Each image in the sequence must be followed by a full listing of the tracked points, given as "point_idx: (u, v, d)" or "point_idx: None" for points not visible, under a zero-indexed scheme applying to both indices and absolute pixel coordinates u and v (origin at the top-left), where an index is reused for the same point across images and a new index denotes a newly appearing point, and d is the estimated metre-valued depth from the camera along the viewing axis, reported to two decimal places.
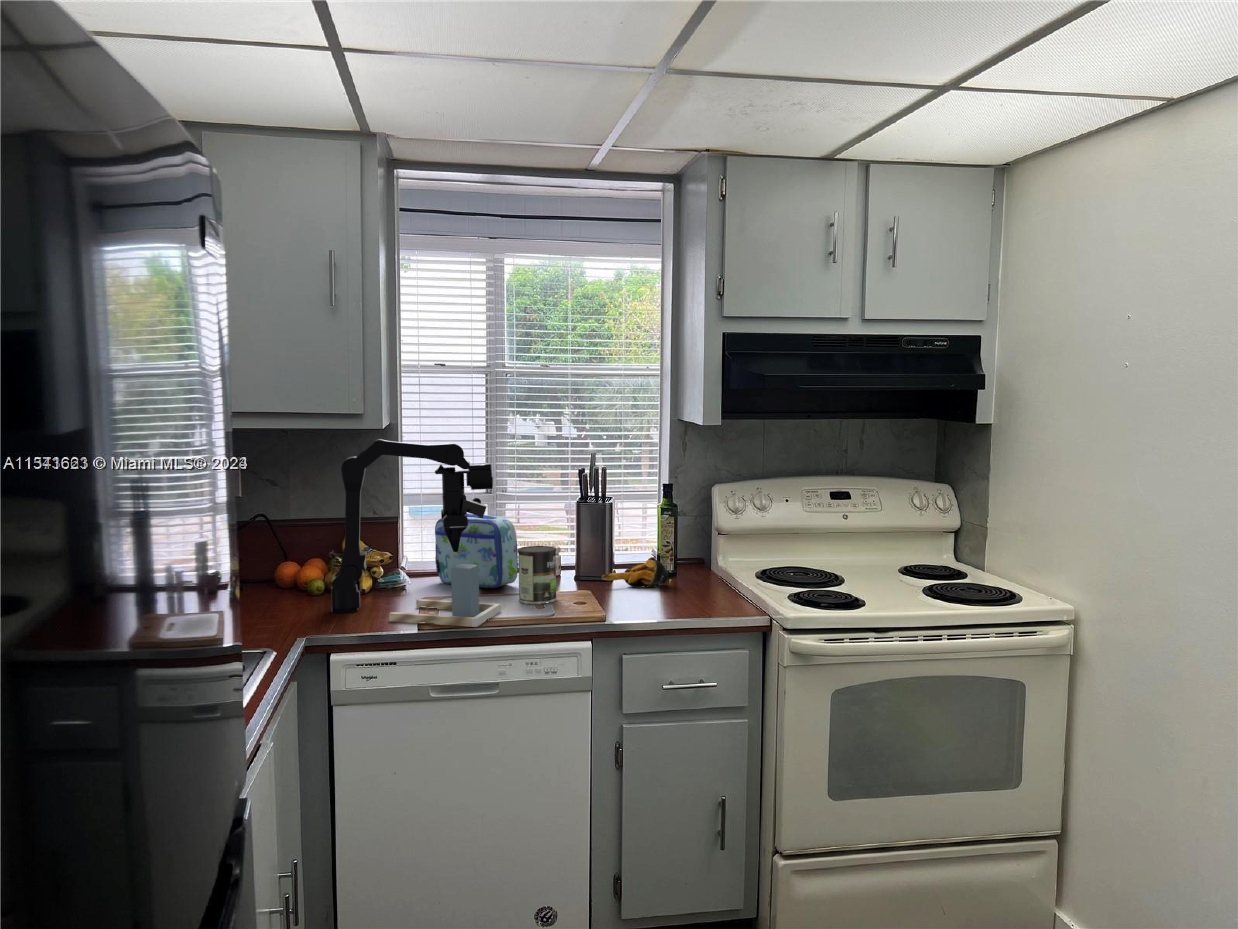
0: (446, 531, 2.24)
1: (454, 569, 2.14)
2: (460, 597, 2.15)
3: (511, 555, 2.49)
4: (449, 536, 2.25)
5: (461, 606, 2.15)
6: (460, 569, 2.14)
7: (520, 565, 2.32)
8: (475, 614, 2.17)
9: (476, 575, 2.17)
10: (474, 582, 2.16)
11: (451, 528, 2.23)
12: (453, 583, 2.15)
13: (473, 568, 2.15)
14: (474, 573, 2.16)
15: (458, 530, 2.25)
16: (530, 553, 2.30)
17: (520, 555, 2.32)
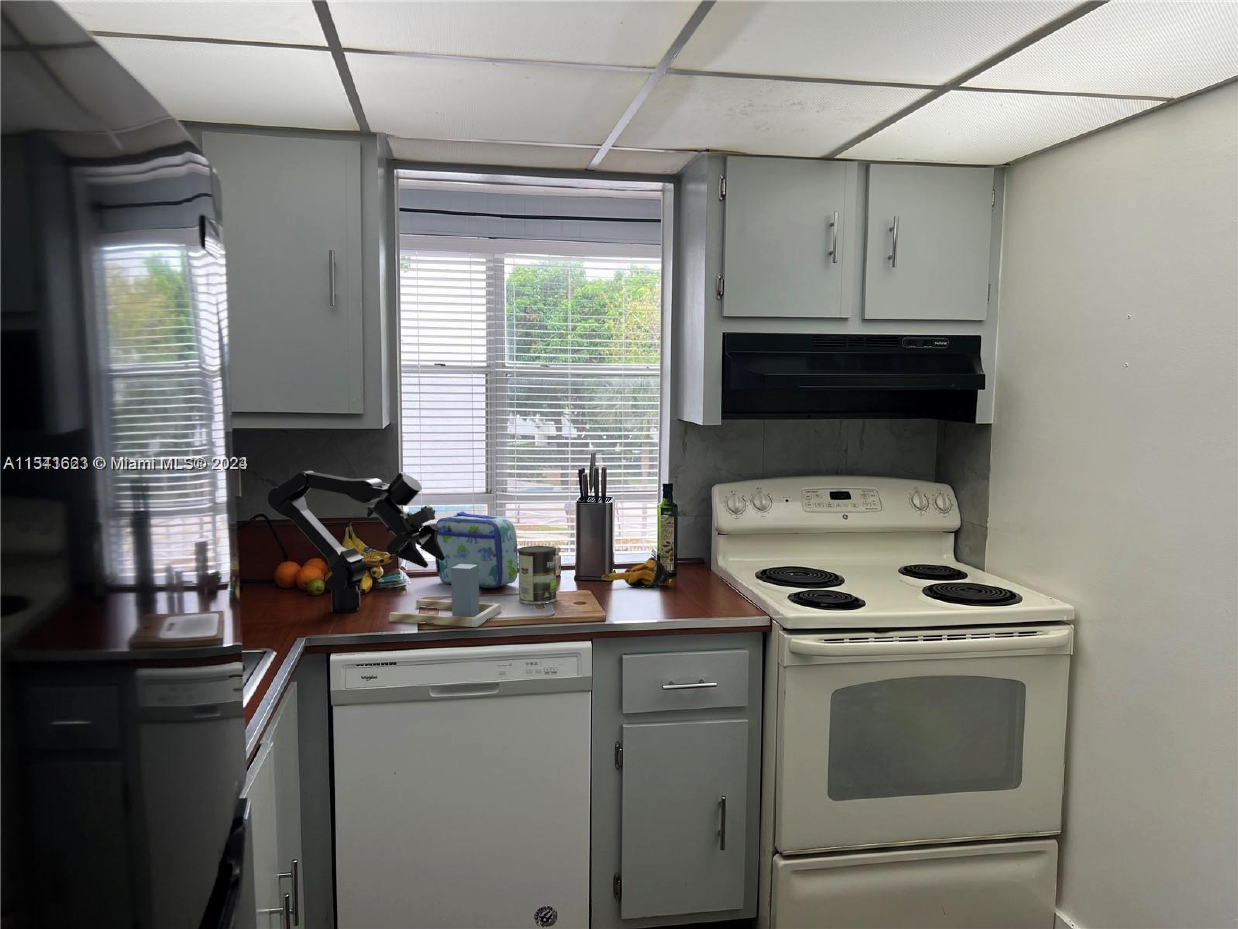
0: (401, 557, 2.13)
1: (454, 569, 2.14)
2: (460, 597, 2.15)
3: (511, 555, 2.49)
4: (408, 559, 2.14)
5: (461, 606, 2.15)
6: (460, 569, 2.14)
7: (520, 565, 2.32)
8: (475, 614, 2.17)
9: (476, 575, 2.17)
10: (474, 582, 2.16)
11: (399, 552, 2.12)
12: (453, 583, 2.15)
13: (473, 568, 2.15)
14: (474, 572, 2.16)
15: (410, 548, 2.13)
16: (530, 553, 2.30)
17: (520, 555, 2.32)
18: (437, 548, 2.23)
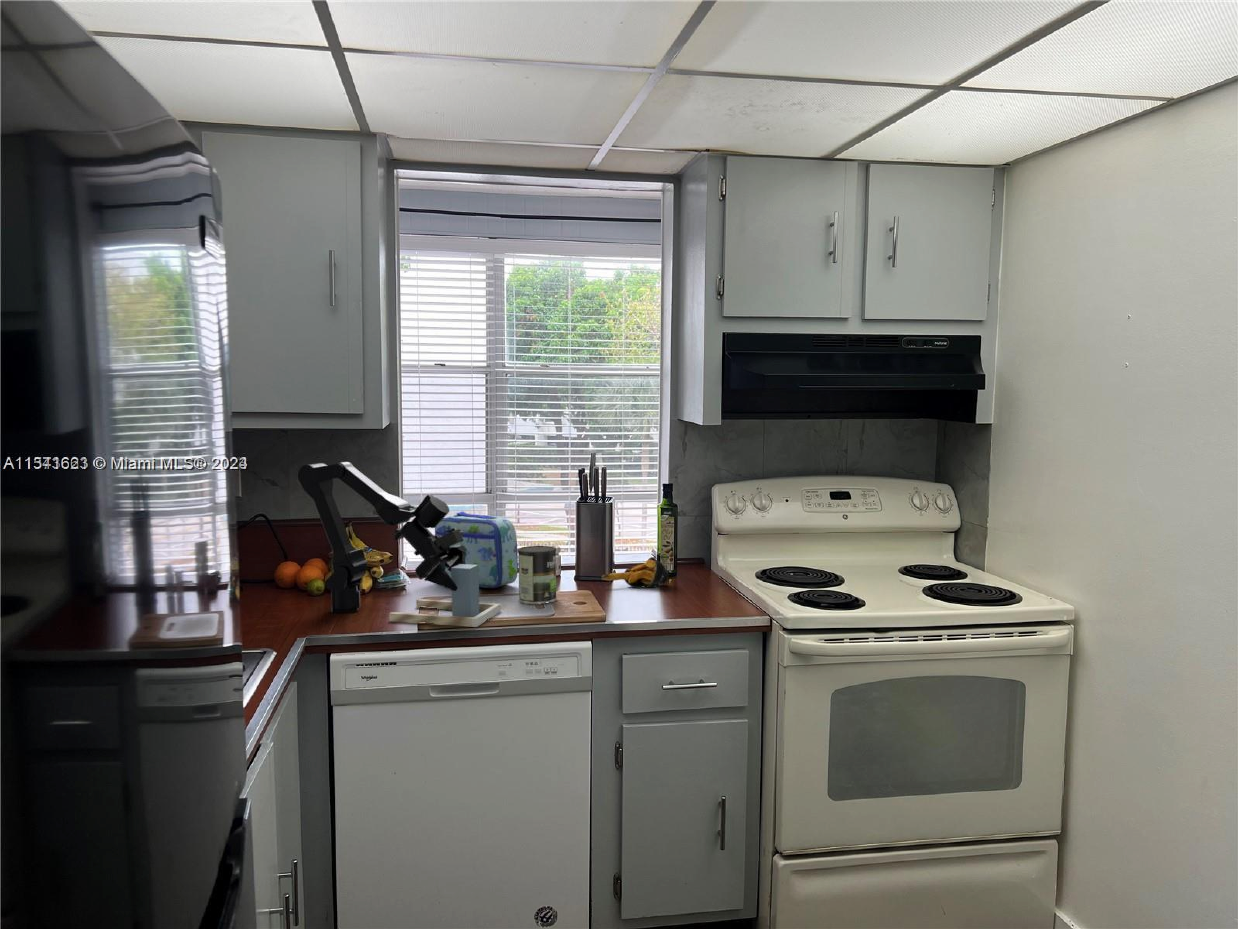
0: (430, 580, 2.12)
1: (454, 569, 2.14)
2: (460, 597, 2.15)
3: (511, 555, 2.49)
4: (437, 582, 2.12)
5: (461, 606, 2.15)
6: (460, 569, 2.14)
7: (520, 565, 2.32)
8: (475, 614, 2.17)
9: (476, 575, 2.17)
10: (474, 582, 2.16)
11: (428, 575, 2.10)
12: None
13: (473, 568, 2.15)
14: (474, 573, 2.16)
15: (439, 571, 2.12)
16: (530, 553, 2.30)
17: (520, 555, 2.32)
18: None
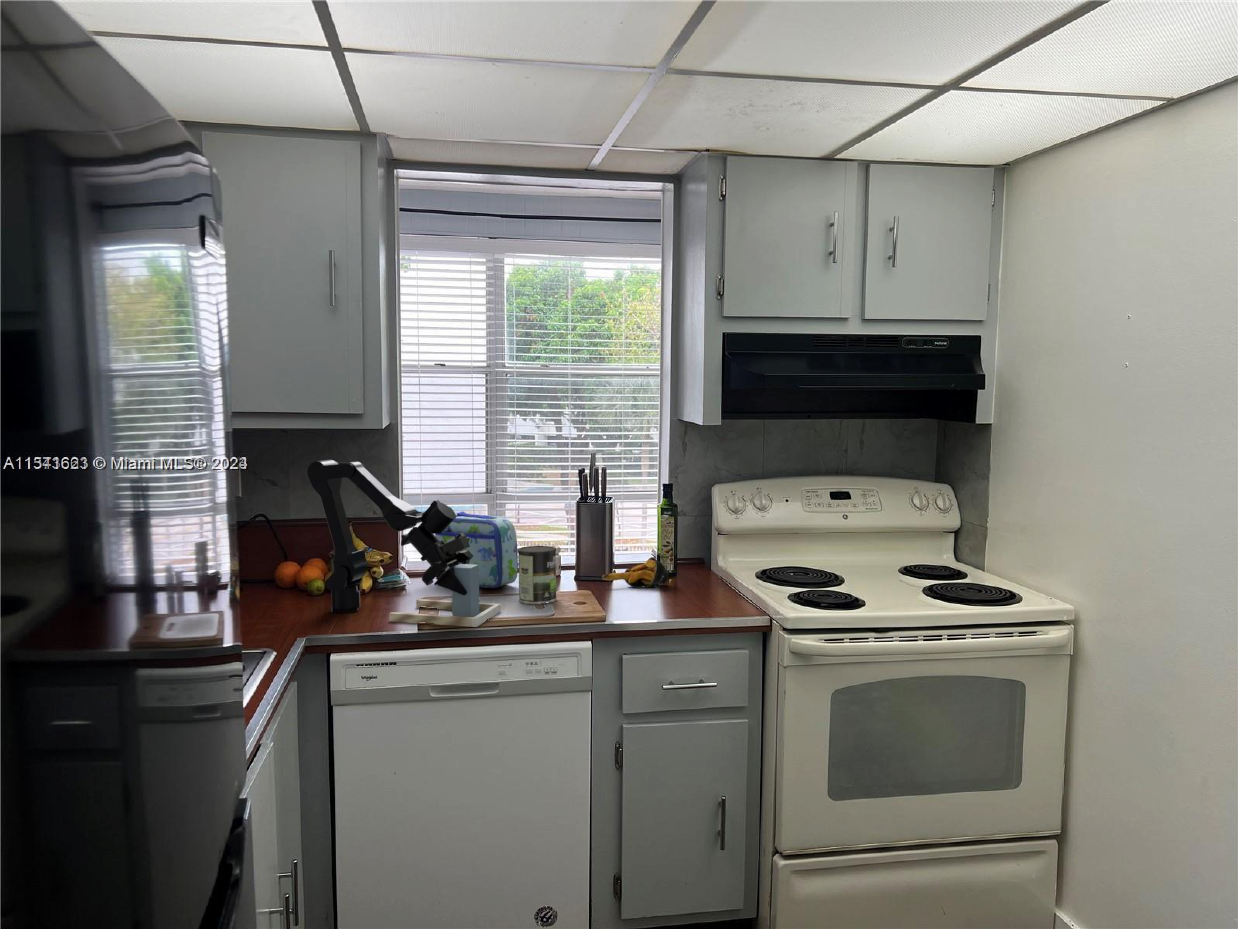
0: (440, 584, 2.13)
1: (454, 569, 2.15)
2: (460, 596, 2.15)
3: (511, 555, 2.49)
4: (447, 586, 2.13)
5: (461, 605, 2.15)
6: (460, 569, 2.14)
7: (520, 565, 2.32)
8: (475, 614, 2.17)
9: (476, 575, 2.17)
10: (474, 582, 2.16)
11: (438, 580, 2.12)
12: None
13: (473, 568, 2.16)
14: (475, 572, 2.16)
15: (449, 576, 2.13)
16: (530, 553, 2.30)
17: (520, 555, 2.32)
18: None
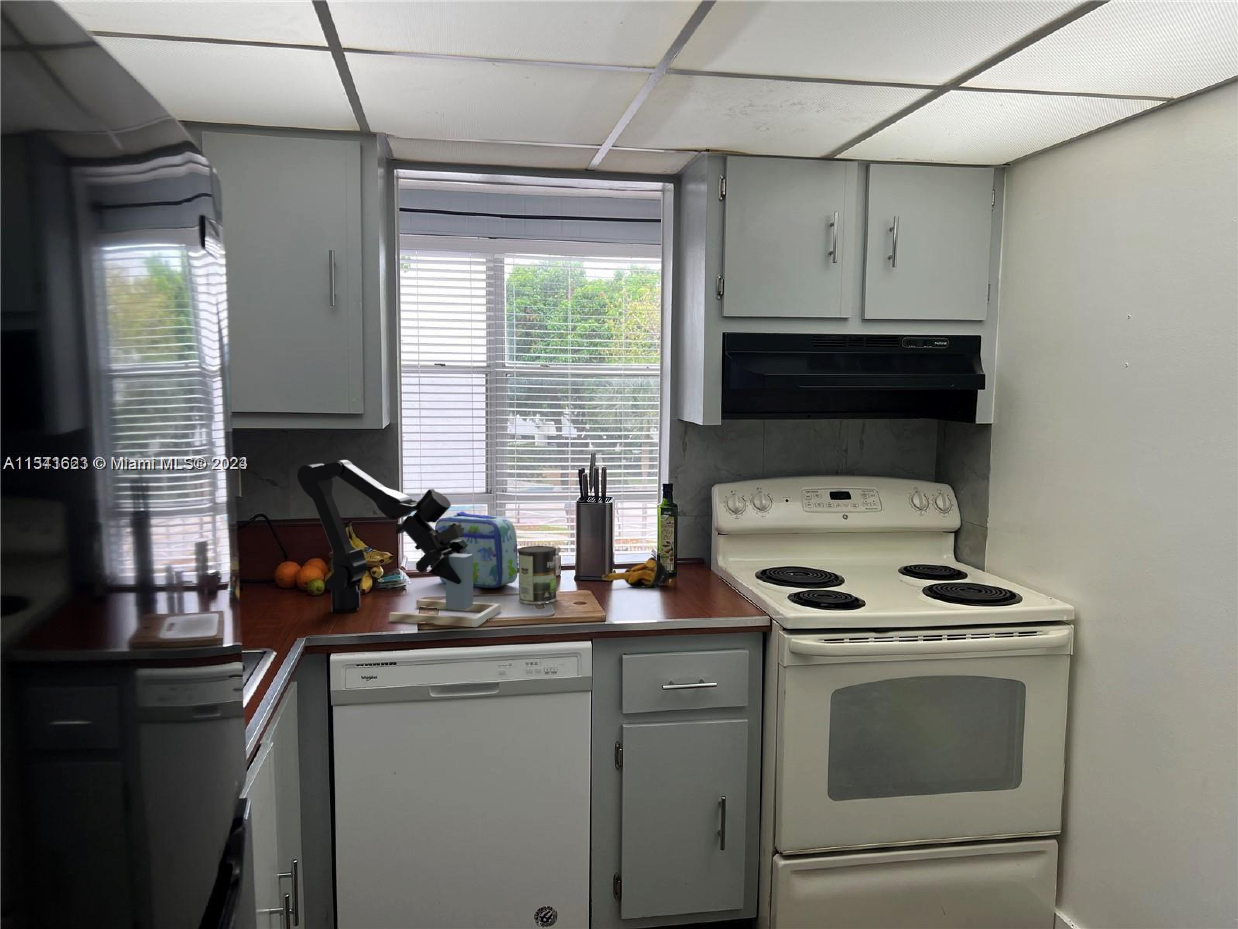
0: (434, 573, 2.13)
1: (449, 557, 2.15)
2: (454, 585, 2.15)
3: (511, 555, 2.49)
4: (441, 575, 2.14)
5: (454, 595, 2.15)
6: (455, 558, 2.14)
7: (520, 565, 2.32)
8: (469, 603, 2.17)
9: (471, 564, 2.17)
10: (468, 571, 2.16)
11: (433, 568, 2.12)
12: None
13: (468, 557, 2.16)
14: (469, 562, 2.17)
15: (443, 564, 2.13)
16: (530, 553, 2.30)
17: (520, 555, 2.32)
18: None
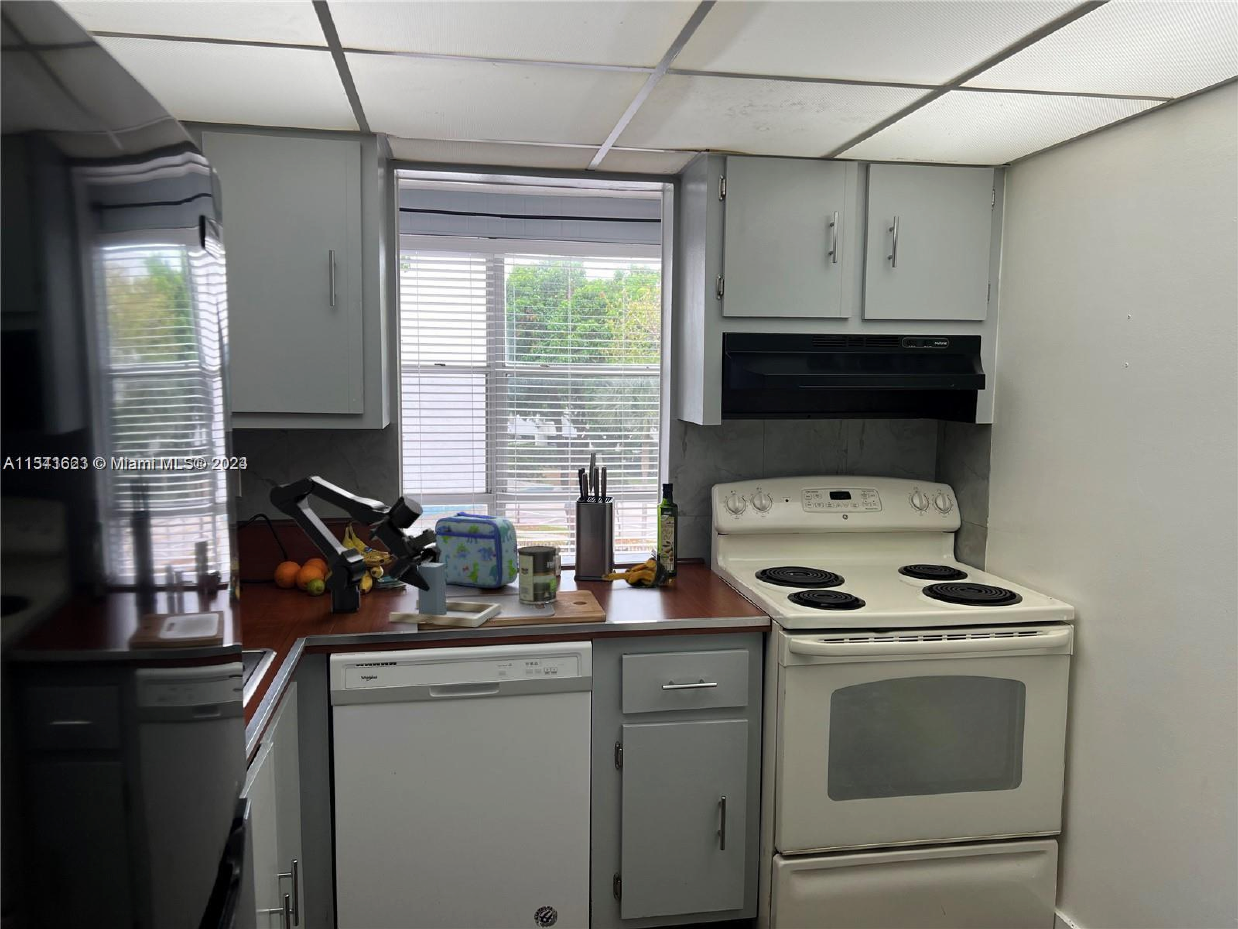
0: (403, 580, 2.14)
1: (420, 567, 2.17)
2: (426, 595, 2.17)
3: (511, 555, 2.49)
4: (410, 582, 2.14)
5: (427, 604, 2.17)
6: (426, 567, 2.16)
7: (520, 565, 2.32)
8: (442, 612, 2.19)
9: (443, 573, 2.19)
10: (440, 581, 2.18)
11: (401, 576, 2.12)
12: None
13: (439, 566, 2.18)
14: (441, 571, 2.18)
15: (412, 572, 2.13)
16: (530, 553, 2.30)
17: (520, 555, 2.32)
18: None
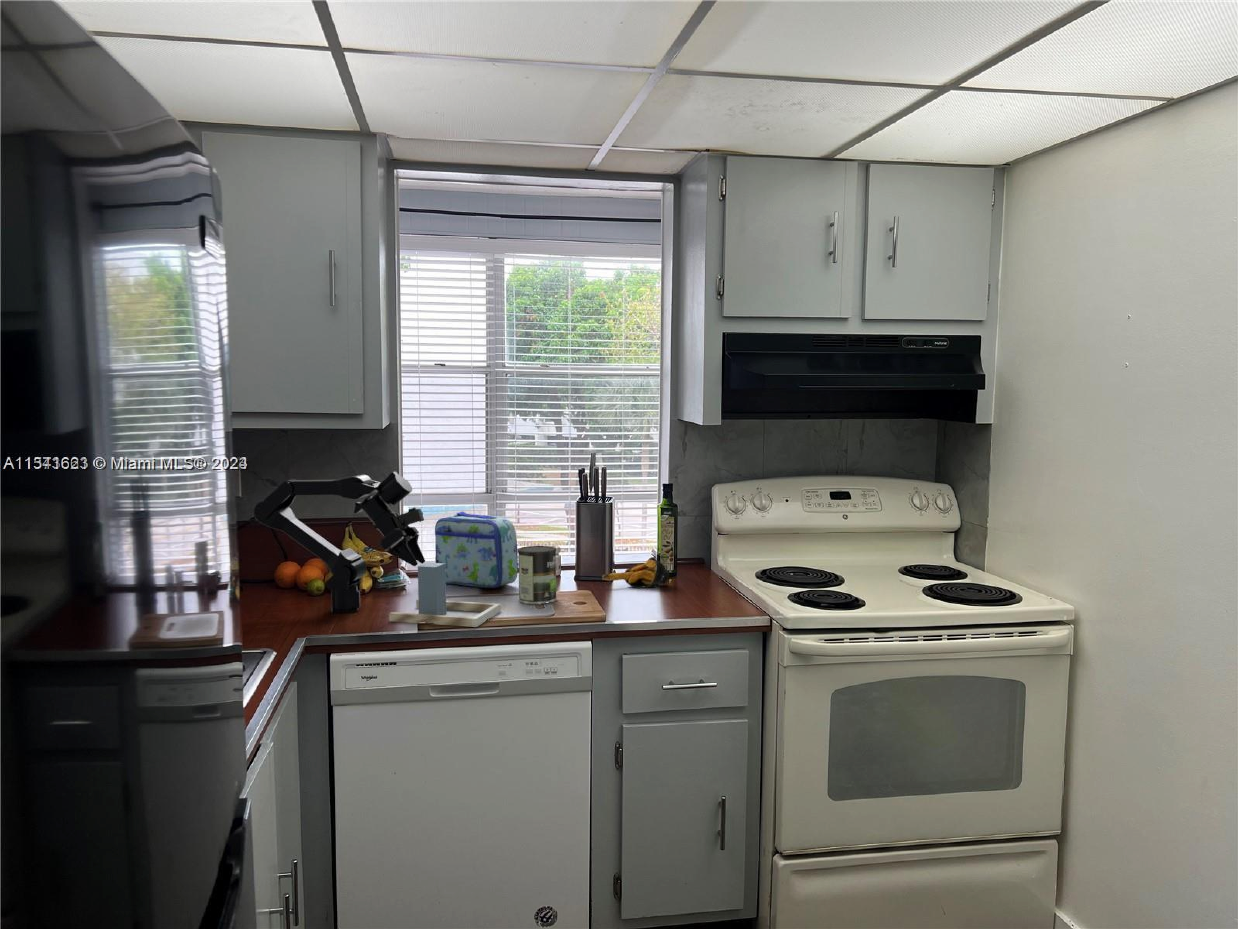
0: (392, 553, 2.16)
1: (420, 567, 2.17)
2: (426, 595, 2.17)
3: (511, 555, 2.49)
4: (399, 555, 2.16)
5: (427, 604, 2.17)
6: (426, 567, 2.16)
7: (520, 565, 2.32)
8: (442, 612, 2.19)
9: (443, 573, 2.19)
10: (440, 581, 2.18)
11: (393, 547, 2.15)
12: (419, 581, 2.17)
13: (439, 566, 2.18)
14: (441, 571, 2.18)
15: (402, 545, 2.16)
16: (530, 553, 2.30)
17: (520, 555, 2.32)
18: (418, 550, 2.27)
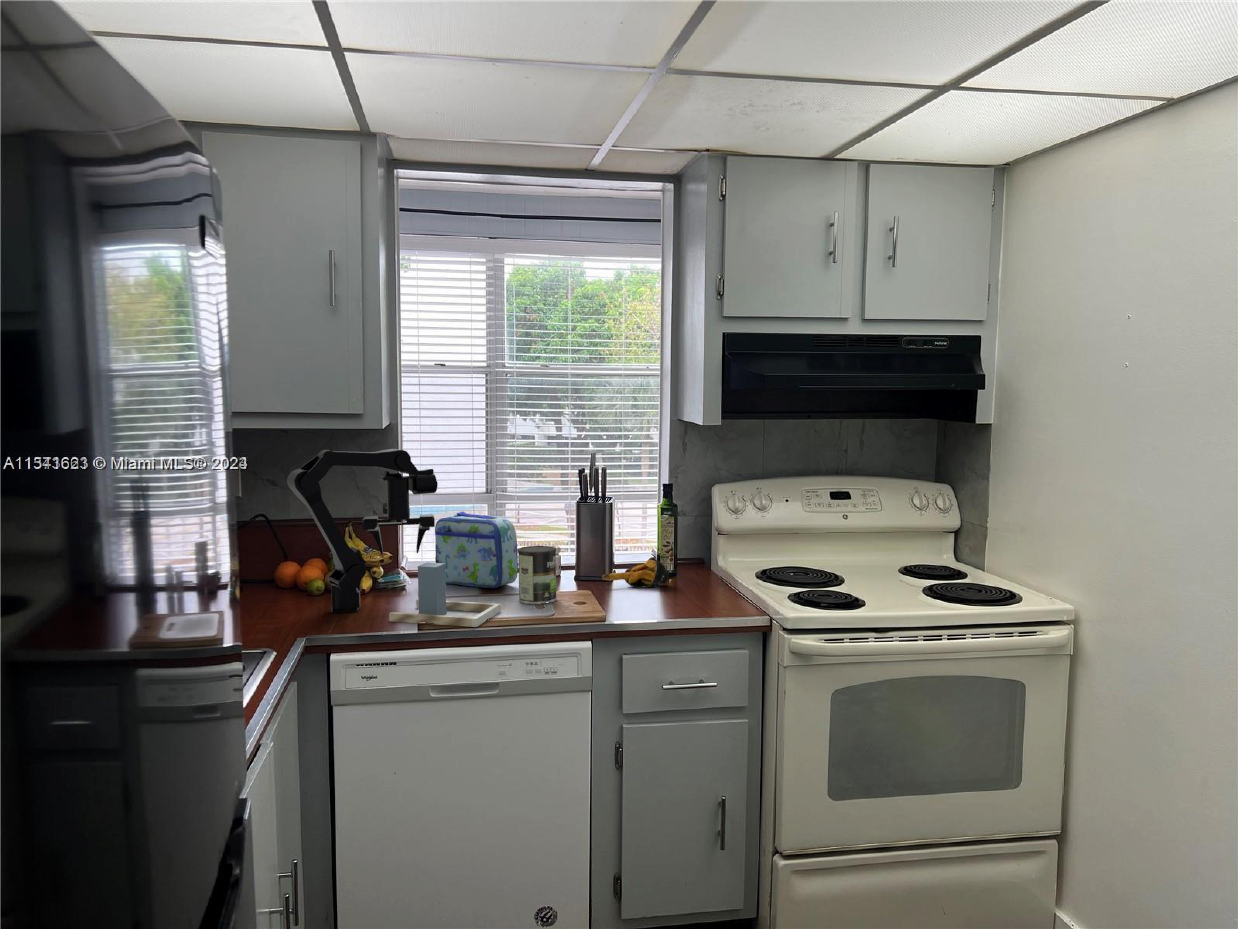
0: None
1: (420, 567, 2.17)
2: (426, 595, 2.17)
3: (511, 555, 2.49)
4: None
5: (427, 604, 2.17)
6: (426, 567, 2.16)
7: (520, 565, 2.32)
8: (442, 612, 2.19)
9: (443, 573, 2.19)
10: (440, 581, 2.18)
11: (429, 528, 2.34)
12: (419, 581, 2.17)
13: (439, 566, 2.18)
14: (441, 571, 2.18)
15: None
16: (530, 553, 2.30)
17: (520, 555, 2.32)
18: (381, 542, 2.34)
